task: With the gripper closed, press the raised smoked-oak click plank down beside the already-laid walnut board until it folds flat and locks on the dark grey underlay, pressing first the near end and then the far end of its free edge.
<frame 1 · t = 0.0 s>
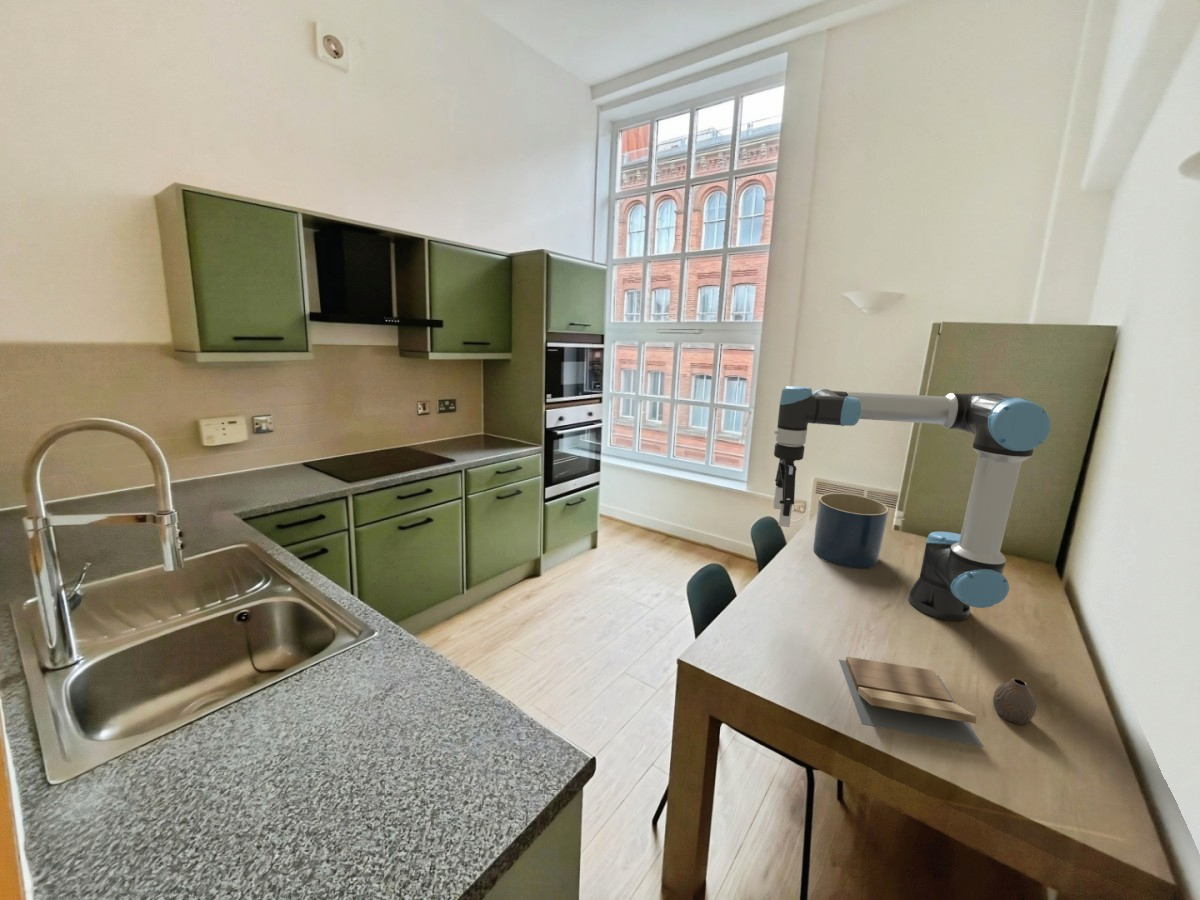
hand: (780, 517, 138), 28 cm above the table, fingers open, 13 cm apart
plank: (913, 704, 103), point 3 cm above the table, hinge at 26.0°, touching underlay
vase: (1010, 717, 105), on the table
planter: (844, 555, 179), on the table
laid board: (895, 682, 114), resting on underlay
underlay: (902, 699, 109), on the table
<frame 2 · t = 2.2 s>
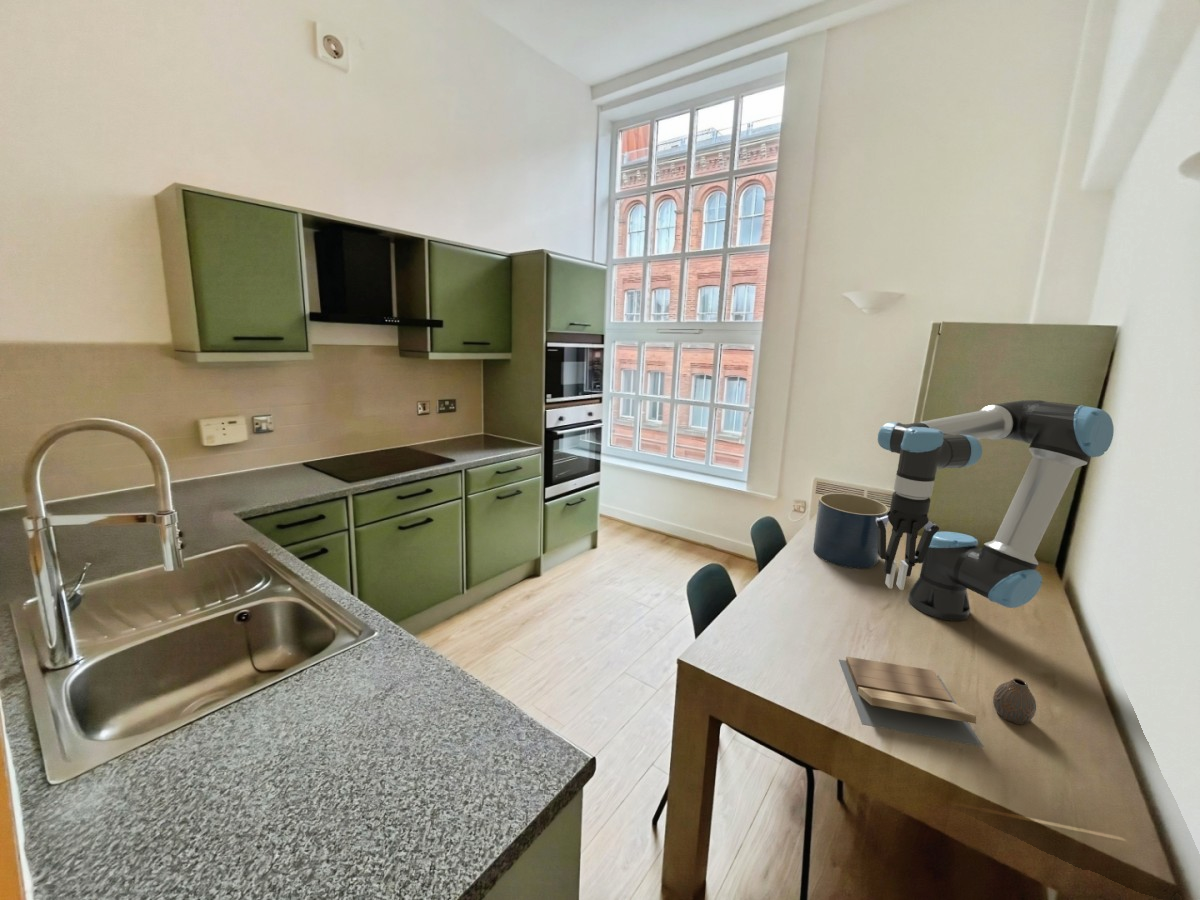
hand: (894, 586, 119), 19 cm above the table, fingers closed
nothing on the table moved.
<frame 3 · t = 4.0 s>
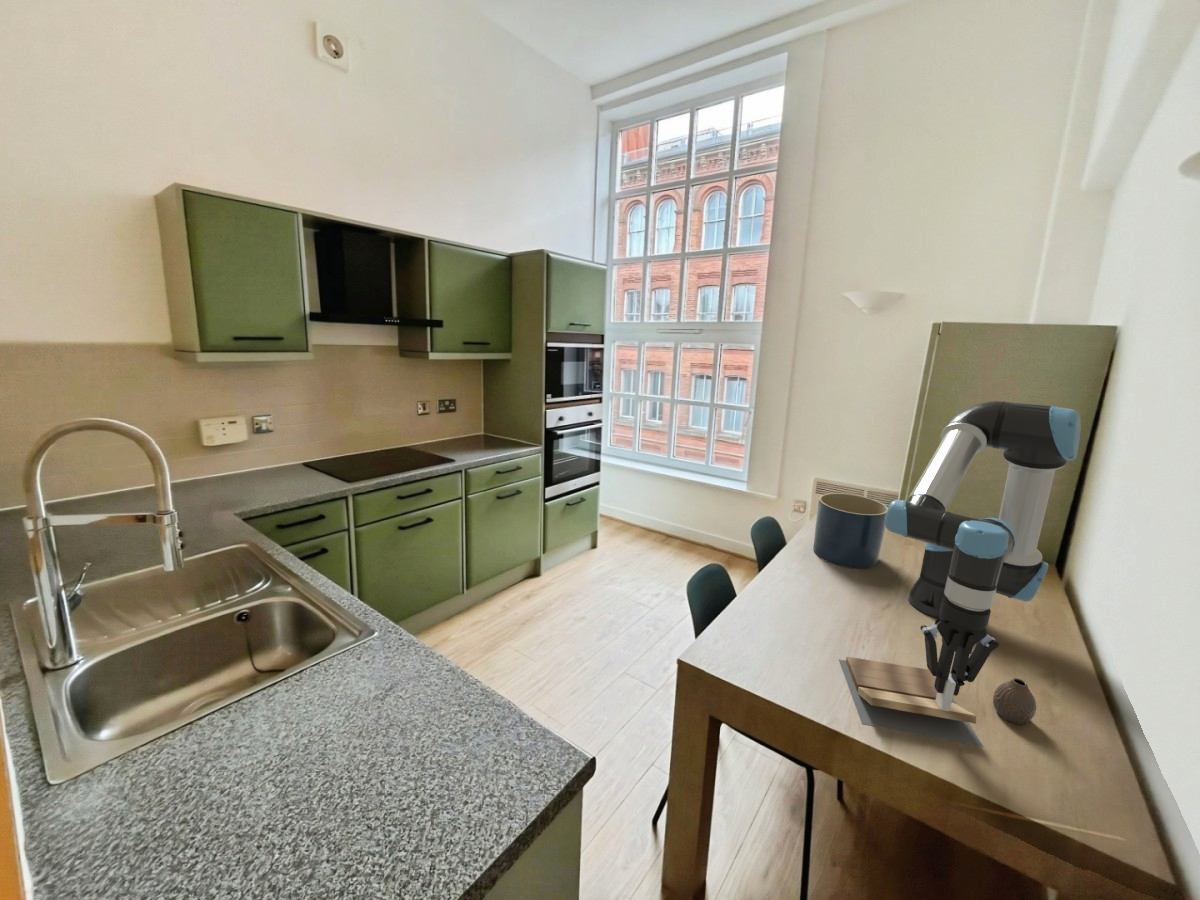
hand: (942, 705, 99), 6 cm above the table, fingers closed
plank: (913, 704, 103), point 3 cm above the table, hinge at 26.0°, touching gripper, underlay
everything else where it was.
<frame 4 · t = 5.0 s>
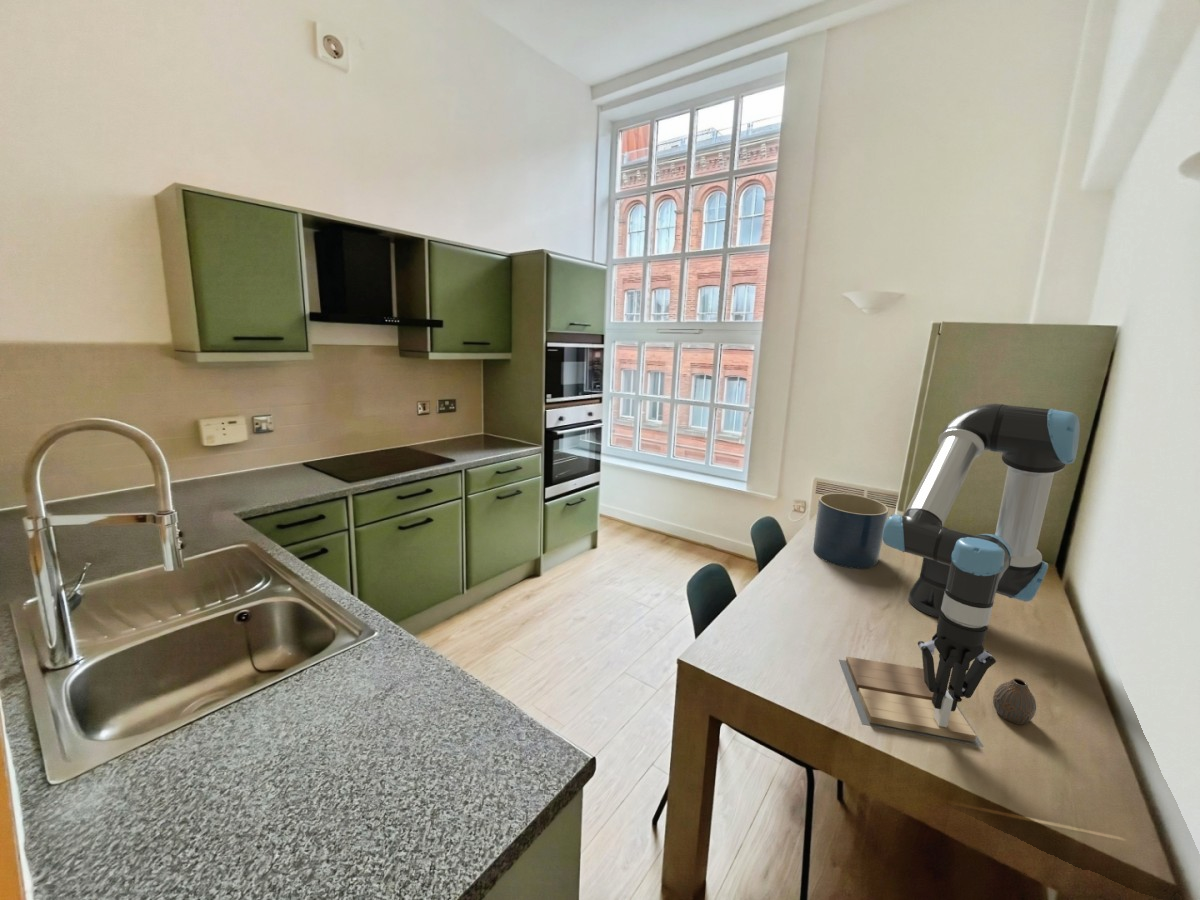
hand: (939, 721, 100), 3 cm above the table, fingers closed
plank: (913, 713, 103), point 1 cm above the table, hinge at 2.5°, touching gripper
everything else where it was.
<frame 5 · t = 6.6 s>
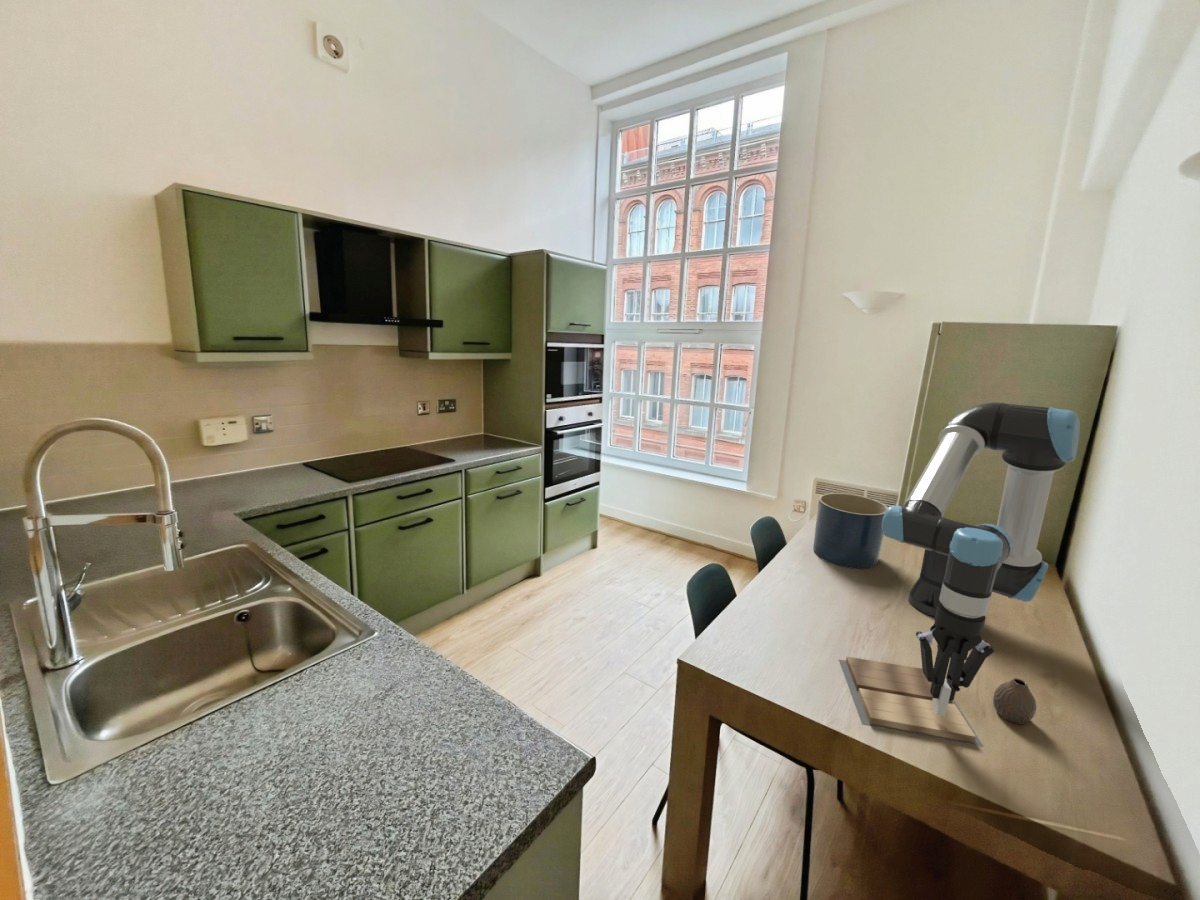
hand: (938, 710, 100), 4 cm above the table, fingers closed
plank: (913, 713, 103), point 1 cm above the table, hinge at 1.1°, touching underlay
everything else where it was.
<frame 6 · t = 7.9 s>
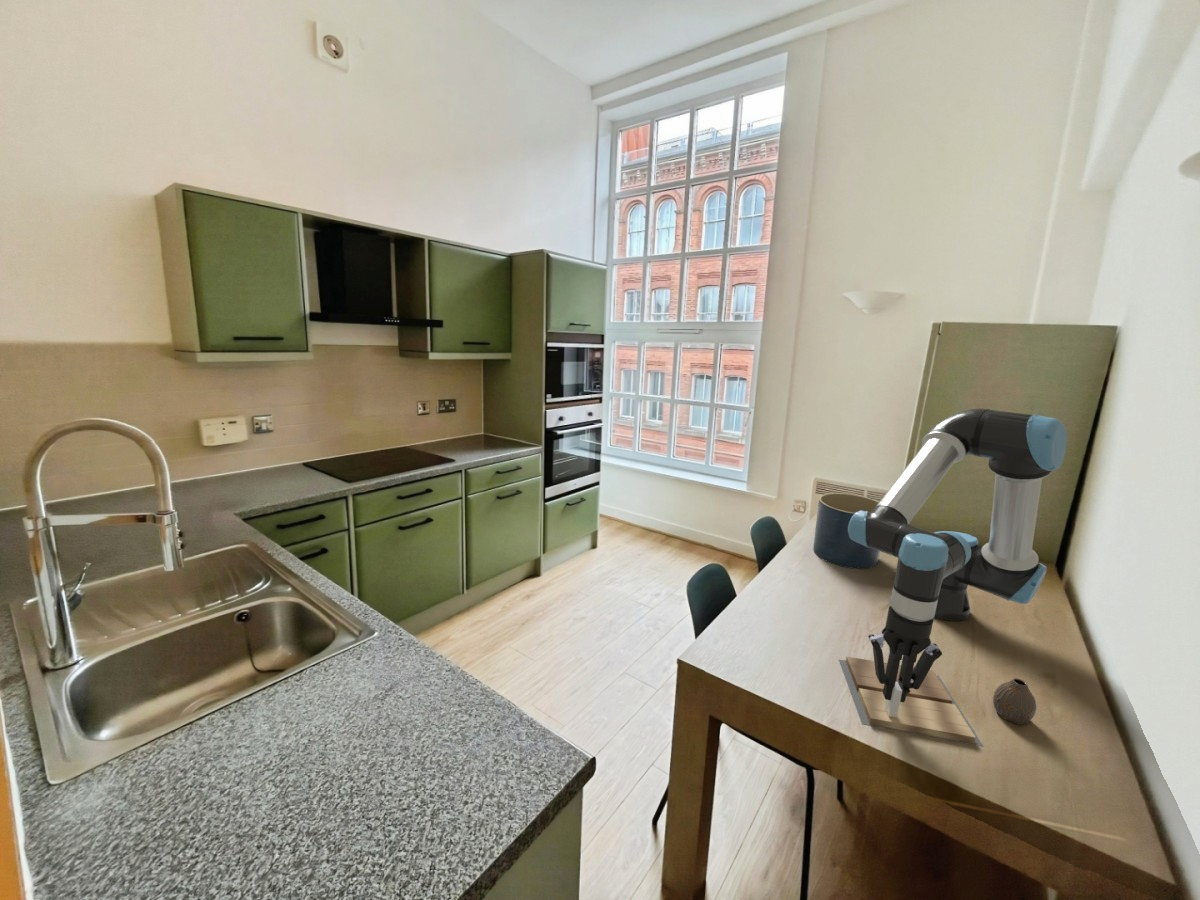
hand: (890, 712, 102), 2 cm above the table, fingers closed
plank: (913, 714, 103), point 1 cm above the table, hinge at 0.2°, touching gripper, underlay
everything else where it was.
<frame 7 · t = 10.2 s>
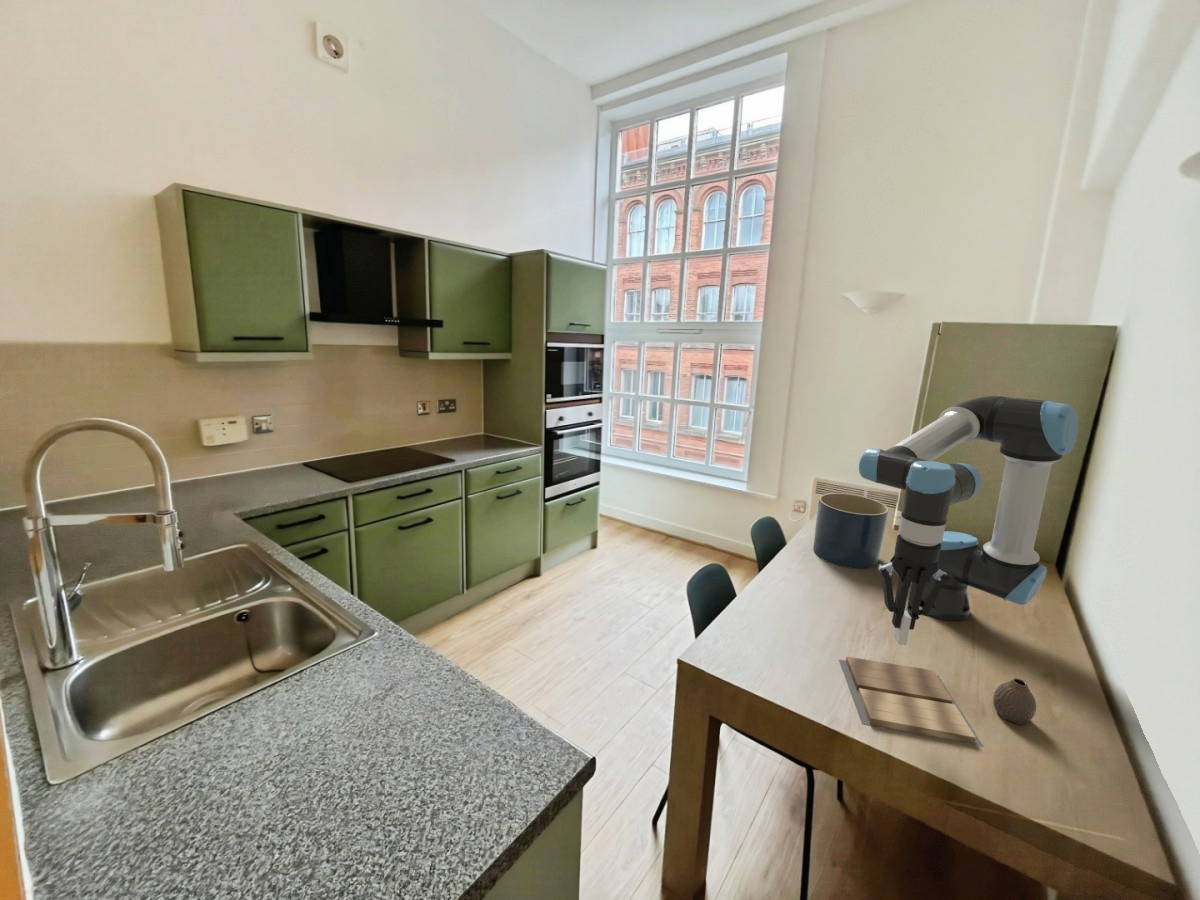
hand: (899, 640, 104), 16 cm above the table, fingers closed
plank: (913, 714, 103), point 1 cm above the table, hinge at 0.2°, touching underlay
everything else where it was.
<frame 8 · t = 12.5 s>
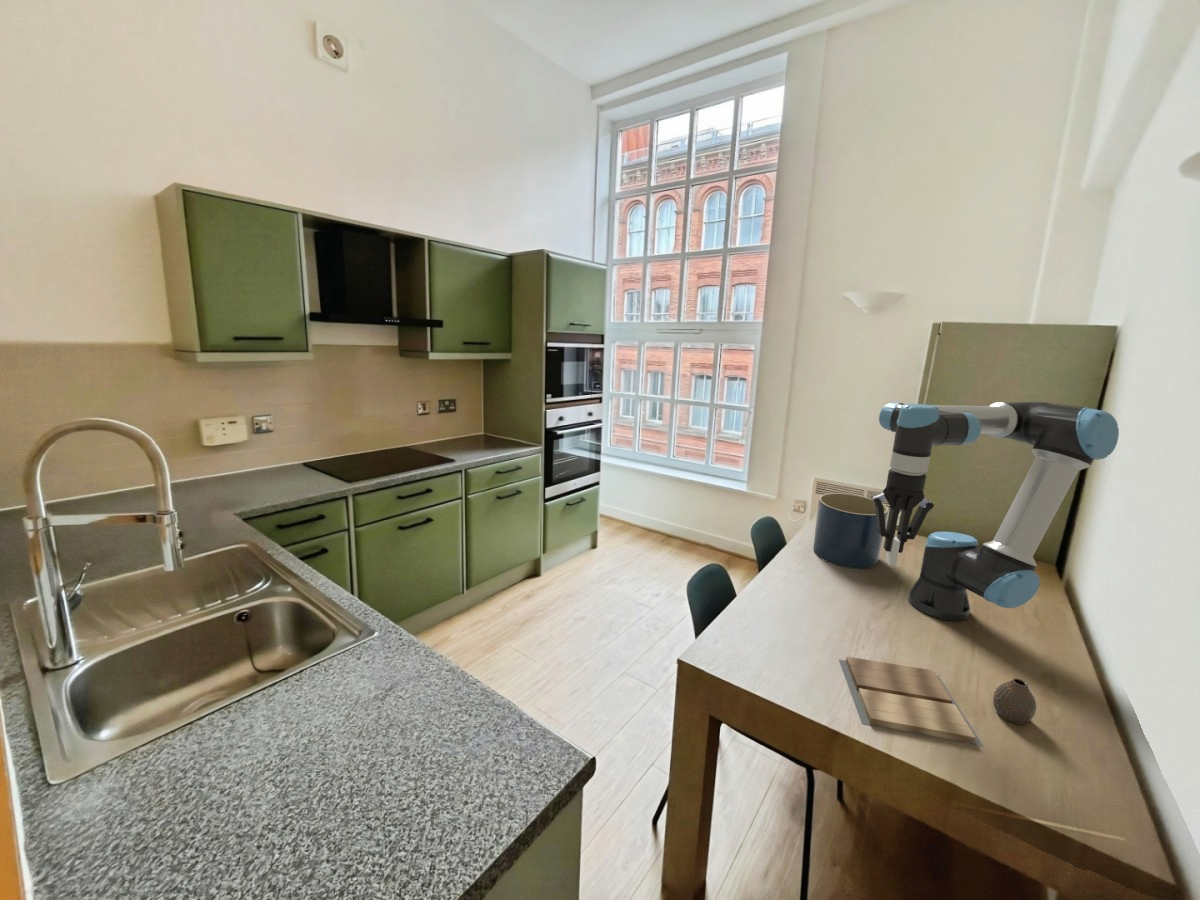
hand: (890, 563, 120), 24 cm above the table, fingers closed
nothing on the table moved.
at the end: plank at +0° (first picture: +26°); plank touching underlay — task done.
